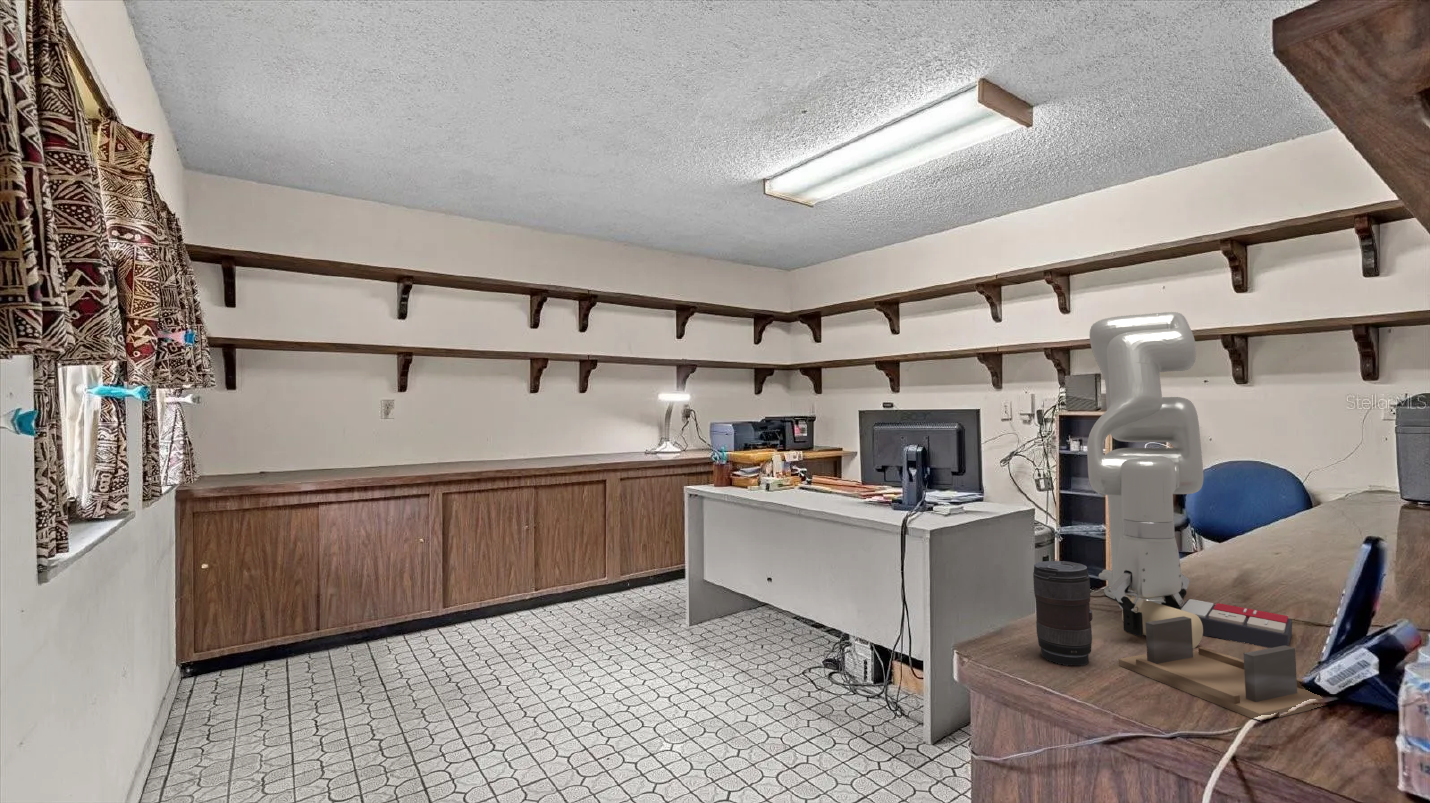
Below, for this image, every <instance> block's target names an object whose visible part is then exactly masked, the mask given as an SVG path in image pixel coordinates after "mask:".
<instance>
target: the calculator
mask: <svg viewBox="0 0 1430 803" xmlns="http://www.w3.org/2000/svg"><path fill="white" fill-rule="evenodd" d="M1180 607H1181V610H1183V611H1186V612H1190V613H1193V614H1195V615H1197V616H1198V617H1199V618H1200V620H1201V622H1202V625H1203V636H1202V637H1208V636H1209V637H1212V638H1217V639H1221V640H1224V641H1225V640H1227V641H1230V640H1232V641H1231V642H1235V641H1237V642H1236V643H1240V642H1245V643H1244V644H1246V643H1249V644H1248V645H1252V644H1254V645H1253V646H1256V647H1257V646H1258V647H1263V648H1274V647H1279V646H1284V645H1285V646H1289V647H1290V644H1291V639H1292V636H1293V620H1292V619H1291V618H1289V616H1288V615H1285V614H1279V613H1274V612H1268V611H1263V610H1258V609H1257V610H1256V609H1252V608H1246V607H1240V606H1236V605H1232V604H1231V605H1230V604H1224V603H1219V602H1217V603H1215V604H1214V603H1213V602H1209V601H1205V600H1204V601H1203V600H1197V599H1191V598H1190V599H1187V600H1186V601H1184V604H1183V606H1180Z"/></svg>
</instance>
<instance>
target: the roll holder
mask: <svg viewBox="0 0 1430 803" xmlns="http://www.w3.org/2000/svg"><path fill="white" fill-rule="evenodd" d="M1145 638H1146V639H1145V641H1146V653H1143V654H1139V655H1133V656H1127V657H1121V658H1118V666H1119V667H1122V668H1125V669H1127V670H1129V671H1132V672H1134V673H1138V674H1140V675H1142V676H1145V677H1147V678H1150V679H1152V680H1155V681H1157V682H1160V683H1162V684H1164V685H1167V686H1170V687H1171V688H1174V689H1176V690H1180V691H1181V692H1184V693H1186V694H1190V695H1192V696H1195V697H1198V698H1200V699H1202V700H1205V701H1207V702H1209V703H1212V704H1215V705H1217V706H1219V707H1222V708H1225V709H1227V710H1230V711H1233V712H1235V713H1236V714H1237V713H1238V714H1240V715H1242V716H1245V717H1247V718H1250V719H1252V718H1254V717H1258V716H1261V715H1271V714H1274V713H1277V712H1288V710H1289V709H1291V708H1292V707H1296V705H1298V704H1301V703H1302V702H1304V701H1307V700H1309V699H1322V697H1321V696H1320V695H1317V694H1314V693H1312V692H1310V691H1308V690H1305V689H1304V688H1303V687H1302V686H1301V685H1300V683H1298V682H1302V681H1303V680H1304V679H1303V678H1300V677H1298V676H1297V662H1296V660H1297V656H1296V648H1295V647H1291V646H1290V645H1289V646H1285V645H1284V646H1279V647H1274V648H1269V647H1267V648H1262V649H1259V650H1253V651H1248V652H1243V659H1241V658H1239V657H1235V656H1232V655H1229V654H1226V653H1223V652H1220V651H1217V650H1214V649H1211V648H1207V647H1205V646H1202V647H1201V646H1200V647H1198V651H1197V650H1194V648H1193V643H1192V622H1191V618H1188V617H1184V616H1183V617H1176V618H1170V619H1164V620H1157V621H1151V622H1146V635H1145ZM1321 706H1323V705H1322V704H1321V705H1320V704H1318V705H1317V704H1315V705H1308V706H1304V707H1299V708H1297V709H1296V710H1295V711H1292V712H1290V713H1287V715H1281V716H1279V718H1282V717H1286V716H1291V715H1295V714H1299V713H1300V714H1301V713H1303V712H1308V711H1312V710H1311V709H1313V710H1315V709H1314V708H1317V707H1321ZM1321 708H1322V707H1321ZM1317 709H1318V708H1317Z"/></svg>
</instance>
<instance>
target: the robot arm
mask: <svg viewBox="0 0 1430 803" xmlns="http://www.w3.org/2000/svg"><path fill="white" fill-rule="evenodd" d="M1089 343H1090V347H1091V351H1092V355H1093V358H1094V359H1095V362H1096V364H1097V366H1098V368H1099V370H1100V373H1101V375H1102V376H1103V380H1104V384H1105V399H1106V411H1105V412H1104V413H1103V414H1102V415H1101V416H1100V417H1099V418H1098V419H1097V420H1096V422H1095V423H1094V424H1093V426H1092V428H1091V430H1090V432H1089V435H1088V438H1087V445H1086V449H1087V450H1086V453H1087V454H1086V455H1087V474H1088V475H1087V476H1088V480H1089V481H1088V482H1089V485H1090V487H1091V489H1092V490H1093V491H1094V492H1096V493H1097V494H1101V495H1104V496H1107V502H1108V515H1109V534H1110V535H1109V538H1110V540H1109V542H1110V557H1111V558H1110V559H1111V561H1110V562H1111V569H1110V570H1109V569H1103V570H1102V571H1101V572H1099V574H1098V578H1099V579H1100V580H1103V581H1107V585H1108V586H1105V587H1104V595H1105V596H1107V597H1108V598H1111V599H1113V600H1114V601H1116V603H1118V605H1119V609H1121V610H1123V620H1122V623H1123V624H1122V625H1123V631H1124V632H1126V633H1128V634H1130V635H1134V636H1136V637H1137V636H1138V637H1143V636H1144V635H1143V620H1142V613H1141V612H1138V611H1139V609H1140V607H1141V605H1142V602H1143V600H1148V601H1151V602H1155V603H1158V604H1162V605H1165V606H1169V607H1172V608H1176V609H1179V610H1181V607H1182V606H1183V604H1184V603H1185V601H1184V598H1186V595H1187V590H1188V587H1189V585H1190V578H1189V577H1187V576H1186V575H1184V574H1182V567H1181V560H1180V554H1179V548H1178V545H1177V540H1176V537H1175V536H1176V535H1175V515H1174V496H1173V495H1190V494H1191V495H1192V494H1195V493H1197V492H1199V491H1200V490H1202V488H1203V484H1204V466H1203V455H1202V454H1203V452H1202V442H1201V433H1200V423H1199V416H1198V412H1197V409H1196V407H1195V405H1194V403H1193V402H1192V401H1191V400H1189V399H1187V398H1185V397H1180V396H1165V397H1164V396H1163V395H1162V386H1161V374H1160V373H1164V372H1183V371H1184V372H1185V371H1188V370H1191V368H1193V366H1194V365H1195V362H1196V358H1197V347H1196V346H1197V344H1196V339H1195V337H1194V332H1193V331H1192V329H1191V326H1190V325H1189V323H1188V320H1187V318H1186V317H1185V315H1183V314H1182V313H1180V312H1176V311H1175V312H1174V311H1173V312H1172V311H1171V312H1170V311H1168V312H1166V311H1165V312H1156V313H1153V312H1152V313H1145V314H1144V313H1143V314H1141V313H1140V314H1130V315H1117V316H1111V317H1107V318H1102V319H1100V320H1097V321H1095V323H1093V324H1092V325H1091V326H1090V329H1089ZM1109 435H1110V436H1111V438H1113V439H1114V440H1116V441H1118V442H1126V443H1127V442H1128V443H1169V444H1170V445H1172V447H1121V448H1116V449H1113V450H1110V451H1108V452H1106V454H1104V444H1105V440H1106V439H1107V438H1108V436H1109ZM1109 587H1111V588H1109ZM1131 598H1135V600H1134V602H1133V603H1132V602H1131Z"/></svg>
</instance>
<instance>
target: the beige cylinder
mask: <svg viewBox="0 0 1430 803" xmlns="http://www.w3.org/2000/svg"><path fill="white" fill-rule="evenodd" d="M1134 600H1135V598H1131V602H1132V603H1133V602H1134ZM1121 610H1122V611H1121V620H1122V621H1123V609H1121ZM1138 612H1141V613H1142V620H1143V635H1142V636H1146V622H1151V621H1157V620H1164V619H1170V618H1176V617H1183V616H1184V617H1188V618H1191V622H1192V643H1193V649H1195V648H1197V646H1198V645H1199V644H1200V643H1201V641H1202V639H1203V637H1204V636H1203V625H1202V622H1201V620H1200V618H1199V617H1198V616H1197V615H1195V614H1193V613H1190V612H1186V611H1183V610H1179V609H1176V608H1172V607H1169V606H1165V605H1162V604H1158V603H1155V602H1151V601H1148V600H1143V602H1142V605H1141V607H1140V609H1139V611H1138Z"/></svg>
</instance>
